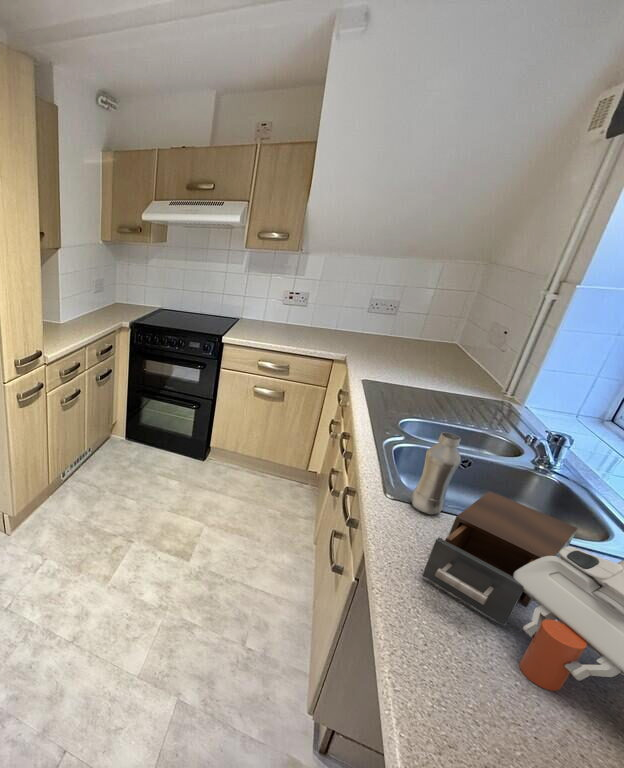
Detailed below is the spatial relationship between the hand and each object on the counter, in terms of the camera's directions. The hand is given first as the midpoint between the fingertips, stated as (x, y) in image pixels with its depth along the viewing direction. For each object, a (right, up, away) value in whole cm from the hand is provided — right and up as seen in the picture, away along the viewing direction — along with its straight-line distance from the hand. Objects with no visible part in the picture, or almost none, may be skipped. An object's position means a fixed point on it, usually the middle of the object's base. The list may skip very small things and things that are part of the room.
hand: (548, 652), depth 61 cm
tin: (+1, -5, +2) cm, 5 cm away
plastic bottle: (+11, +9, +39) cm, 42 cm away
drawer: (+3, +2, +16) cm, 16 cm away
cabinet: (+14, +3, +23) cm, 27 cm away
